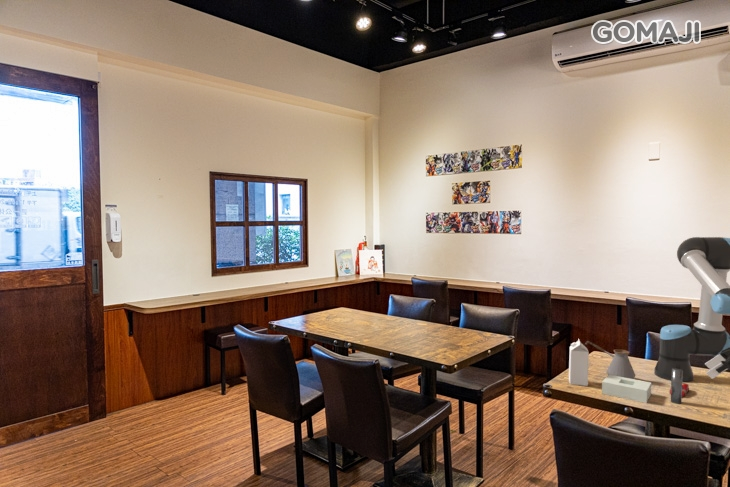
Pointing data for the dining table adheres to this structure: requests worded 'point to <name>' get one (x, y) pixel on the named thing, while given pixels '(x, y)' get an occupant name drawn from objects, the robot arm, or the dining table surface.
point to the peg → (676, 386)
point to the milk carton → (578, 364)
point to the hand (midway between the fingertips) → (708, 371)
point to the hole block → (626, 388)
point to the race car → (684, 389)
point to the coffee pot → (619, 363)
